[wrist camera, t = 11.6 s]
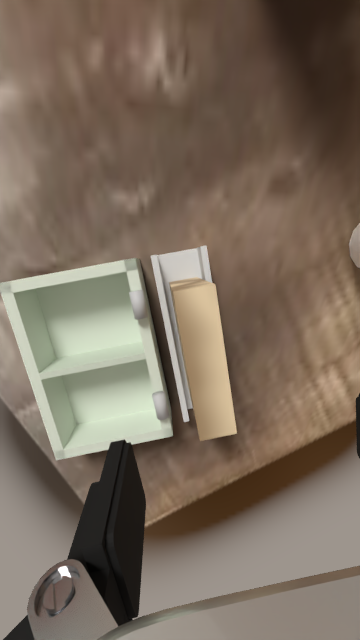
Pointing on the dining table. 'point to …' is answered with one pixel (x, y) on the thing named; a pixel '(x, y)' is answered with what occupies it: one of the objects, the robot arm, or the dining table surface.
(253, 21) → the dining table surface
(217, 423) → the beige flat block
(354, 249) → the foam cup
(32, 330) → the cabinet
